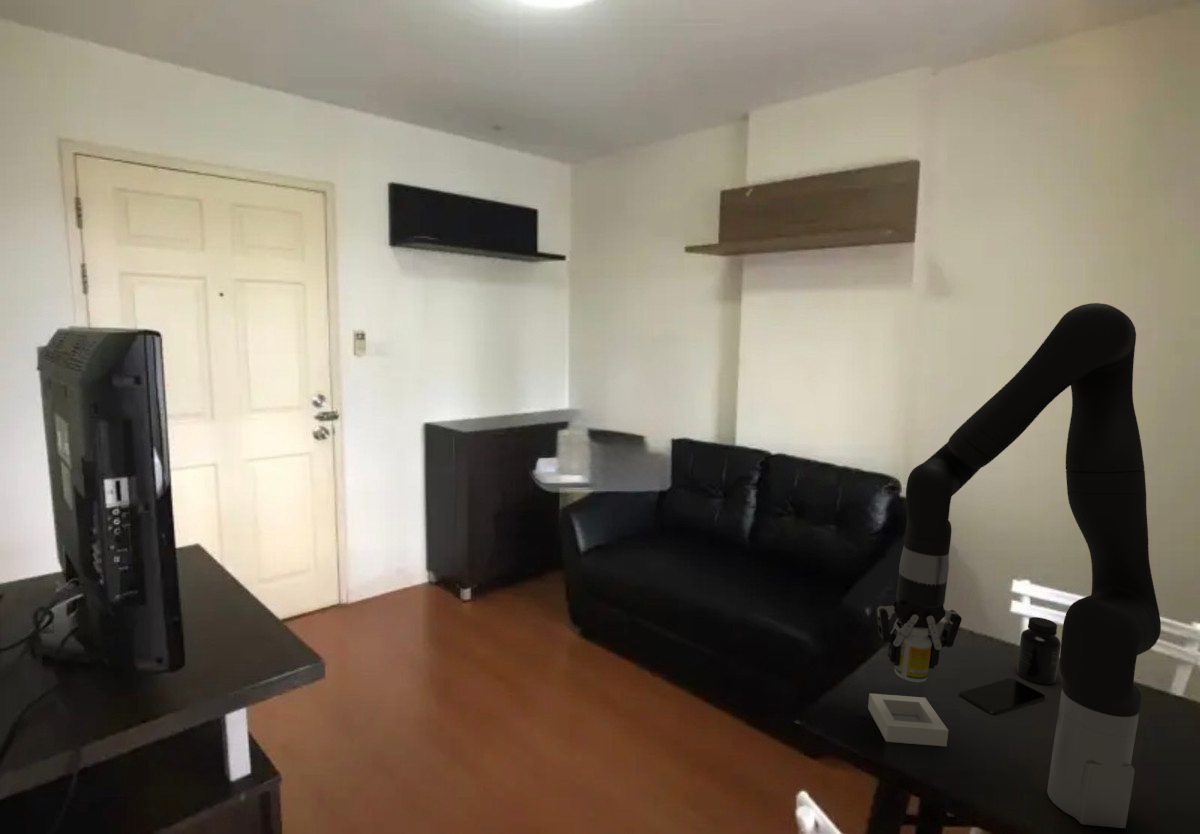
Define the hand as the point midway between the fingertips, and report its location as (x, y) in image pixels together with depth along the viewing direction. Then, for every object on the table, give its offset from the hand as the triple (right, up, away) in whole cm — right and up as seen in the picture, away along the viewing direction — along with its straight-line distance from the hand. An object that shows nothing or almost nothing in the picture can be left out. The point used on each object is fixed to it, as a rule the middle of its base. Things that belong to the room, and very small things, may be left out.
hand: (912, 664), depth 118 cm
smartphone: (+23, -11, +12) cm, 29 cm away
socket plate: (0, -12, +1) cm, 12 cm away
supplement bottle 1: (0, -2, 0) cm, 2 cm away
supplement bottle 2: (+35, -10, +21) cm, 42 cm away
